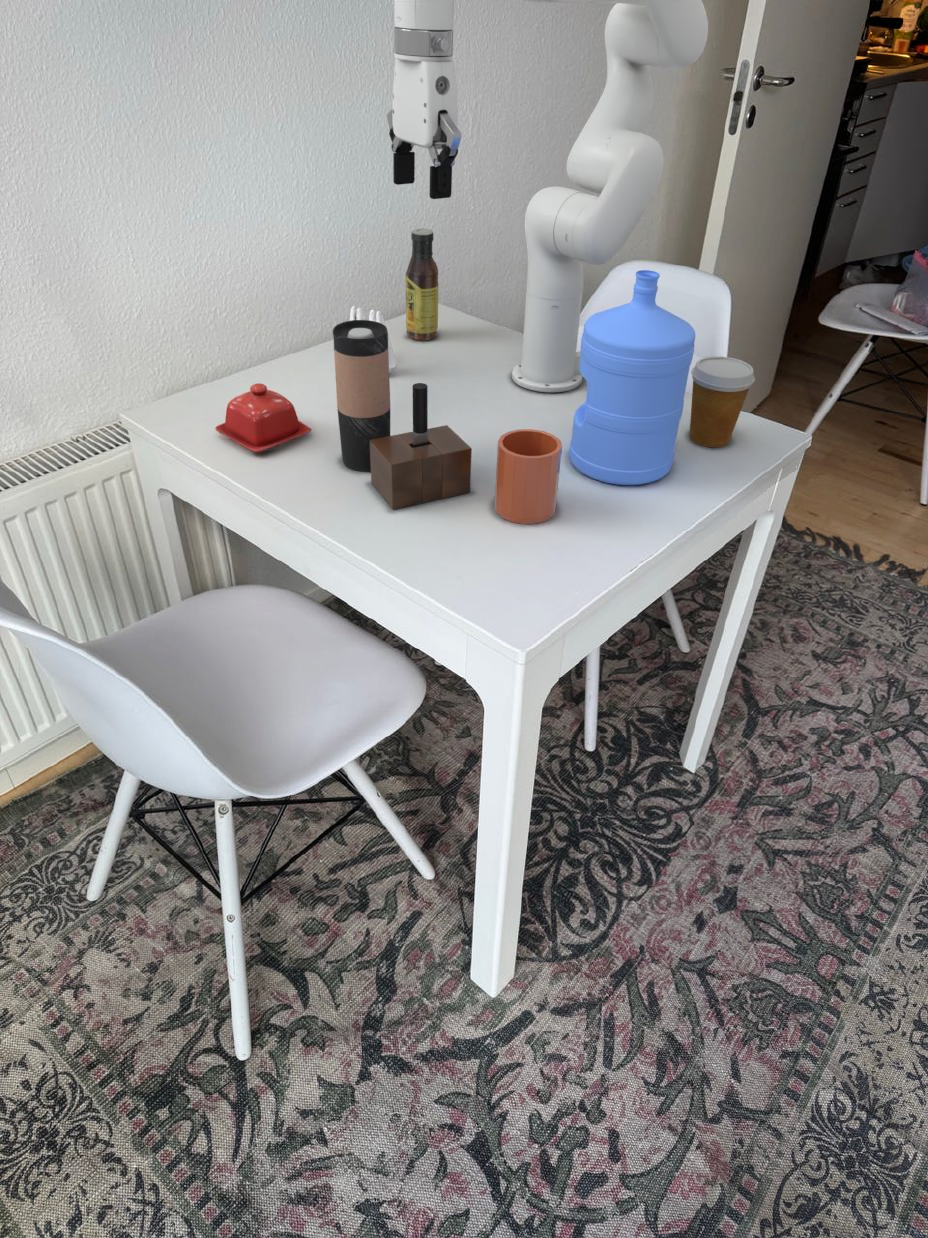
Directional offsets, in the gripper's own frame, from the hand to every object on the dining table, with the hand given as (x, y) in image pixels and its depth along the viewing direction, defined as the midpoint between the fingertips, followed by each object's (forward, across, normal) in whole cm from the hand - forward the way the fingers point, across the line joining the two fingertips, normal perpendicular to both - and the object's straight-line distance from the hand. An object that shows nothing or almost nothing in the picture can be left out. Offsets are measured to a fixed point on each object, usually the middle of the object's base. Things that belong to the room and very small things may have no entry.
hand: (421, 190), depth 124 cm
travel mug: (+35, -8, +14) cm, 39 cm away
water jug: (+34, -28, -19) cm, 48 cm away
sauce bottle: (+34, +32, -20) cm, 51 cm away
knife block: (+35, -19, +11) cm, 41 cm away
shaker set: (+35, +23, -4) cm, 42 cm away
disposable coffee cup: (+34, -29, -37) cm, 58 cm away
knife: (+35, -19, +11) cm, 41 cm away
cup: (+35, -32, +2) cm, 47 cm away
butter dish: (+35, +7, +24) cm, 43 cm away
